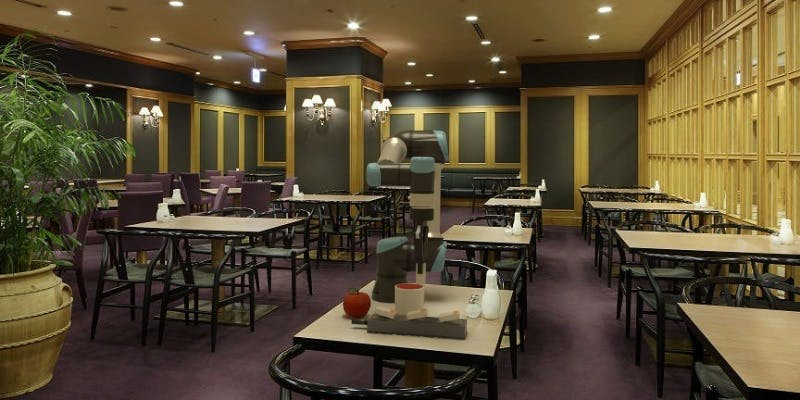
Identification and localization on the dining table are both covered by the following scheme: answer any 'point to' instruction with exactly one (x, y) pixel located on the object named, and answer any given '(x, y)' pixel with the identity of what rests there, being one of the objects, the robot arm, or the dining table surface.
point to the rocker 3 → (449, 316)
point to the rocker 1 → (385, 312)
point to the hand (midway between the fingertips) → (420, 283)
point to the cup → (408, 298)
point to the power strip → (415, 326)
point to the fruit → (356, 304)
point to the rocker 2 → (417, 314)
